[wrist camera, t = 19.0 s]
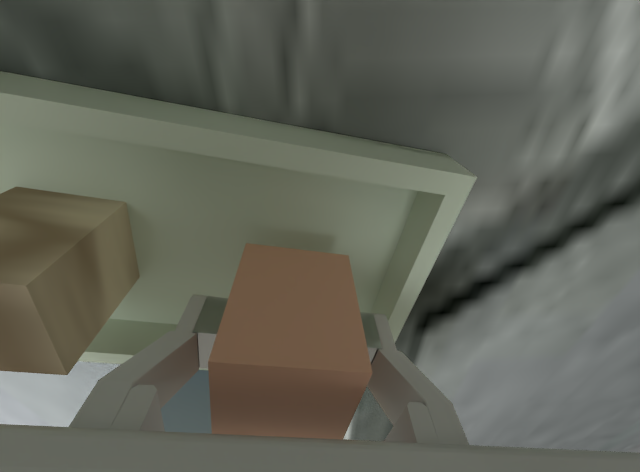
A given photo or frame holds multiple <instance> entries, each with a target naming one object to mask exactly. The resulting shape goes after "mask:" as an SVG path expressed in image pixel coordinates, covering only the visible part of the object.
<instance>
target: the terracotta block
mask: <svg viewBox="0 0 640 472" xmlns="http://www.w3.org/2000/svg"><path fill="white" fill-rule="evenodd" d="M208 372H209V391H210V410H211V429H212V434H231V435H254V436H277V437H299V438H322V439H343V438H344V436H345V433H346V431H347V429H348V427H349V424H350V422H351V420H352V418H353V416H354V413H355V411H356V409H357V407H358V404H359V402H360V400H361V398H362V396H363V393H364V391H365V389H366V387H367V384H368V382H369V380H370V378H371V376H372V368H371V363H370V358H369V353H368V348H367V343H366V338H365V334H364V329H363V324H362V319H361V314H360V309H359V304H358V299H357V294H356V289H355V285H354V280H353V275H352V270H351V265H350V260H349V255H342V254H334V253H325V252H317V251H308V250H300V249H292V248H283V247H275V246H266V245H258V244H249V243H246V245H245V248H244V251H243V254H242V257H241V260H240V263H239V267H238V270H237V273H236V276H235V279H234V282H233V285H232V288H231V292H230V295H229V298H228V301H227V304H226V307H225V310H224V313H223V317H222V320H221V323H220V326H219V329H218V332H217V335H216V338H215V342H214V345H213V348H212V351H211V354H210V357H209V360H208Z"/></svg>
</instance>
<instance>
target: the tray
mask: <svg viewBox="0 0 640 472" xmlns="http://www.w3.org/2000/svg"><path fill="white" fill-rule="evenodd" d="M476 179H477V177H476V176H475V175H474V174H472V173H471V172H470V171H468V170H467V169H465V168H464V167H463V166H461V165H460V164H459V163H457V162H456V161H455V160H453V159H452V158H451V157H449V156H448V155H446V154H443V153H438V152H432V151H427V150H422V149H416V148H411V147H406V146H400V145H395V144H390V143H384V142H379V141H373V140H368V139H363V138H357V137H352V136H347V135H341V134H336V133H330V132H325V131H320V130H314V129H309V128H304V127H298V126H293V125H288V124H282V123H277V122H271V121H266V120H261V119H255V118H250V117H245V116H239V115H234V114H228V113H223V112H218V111H212V110H207V109H202V108H196V107H191V106H186V105H180V104H175V103H169V102H164V101H159V100H153V99H148V98H143V97H137V96H132V95H126V94H121V93H116V92H110V91H105V90H100V89H94V88H89V87H84V86H78V85H73V84H67V83H62V82H57V81H51V80H46V79H41V78H35V77H30V76H24V75H19V74H14V73H8V72H3V71H0V194H1V193H3V192H5V191H7V190H10V189H12V188H14V187H23V188H30V189H37V190H45V191H52V192H59V193H66V194H73V195H80V196H87V197H94V198H101V199H108V200H115V201H122V202H126V203H127V209H128V214H129V220H130V225H131V231H132V236H133V242H134V247H135V253H136V258H137V264H138V269H139V275H140V277H139V279H138V280H137V281H136V283H135V284H134V285H133V287H132V288H131V289H130V291H129V292H128V294H127V295H126V296H125V298H124V299H123V300H122V302H121V303H120V304H119V306H118V307H117V308H116V310H115V311H114V312H113V314H112V315H111V316H110V318H109V319H108V321H107V322H106V323H105V325H104V326H103V327H102V329H101V330H100V331H99V333H98V334H97V335H96V337H95V338H94V339H93V341H92V342H91V344H90V345H89V346H88V348H87V349H86V350H85V352H84V353H83V354H82V356H81V357H80V358H79V360H78V361H83V362H97V363H111V364H123V363H124V362H126V361H127V360H129V359H130V358H131V357H133V356H134V355H136V354H137V353H139V352H140V351H142V350H143V349H144V348H146V347H147V346H149V345H150V344H152V343H153V342H155V341H156V340H157V339H159V338H160V337H162V336H163V335H165V334H166V333H168V332H169V331H175V329H176V327H177V325H178V323H179V321H180V319H181V317H182V314H183V312H184V310H185V308H186V306H187V304H188V302H189V300H190V298H191V297H192V295H193V294H195V295H203V296H213V297H221V298H229V295H230V292H231V288H232V285H233V282H234V279H235V276H236V273H237V270H238V267H239V263H240V260H241V257H242V254H243V251H244V248H245V245H246V243H249V244H258V245H266V246H275V247H283V248H292V249H300V250H308V251H317V252H325V253H334V254H342V255H349V260H350V265H351V270H352V275H353V280H354V285H355V289H356V294H357V299H358V304H359V309H360V312H366V313H376V314H385V315H386V317H387V320H388V323H389V326H390V329H391V333H392V336H393V339H394V342H396V340H397V338H398V336H399V334H400V332H401V330H402V328H403V326H404V324H405V322H406V320H407V318H408V315H409V313H410V311H411V309H412V307H413V305H414V303H415V301H416V299H417V297H418V295H419V293H420V291H421V289H422V287H423V285H424V283H425V281H426V279H427V277H428V275H429V273H430V271H431V269H432V267H433V265H434V263H435V261H436V259H437V257H438V255H439V253H440V251H441V249H442V247H443V245H444V243H445V241H446V239H447V237H448V235H449V233H450V231H451V229H452V227H453V225H454V223H455V221H456V219H457V217H458V215H459V213H460V211H461V209H462V207H463V205H464V203H465V201H466V199H467V197H468V195H469V193H470V191H471V189H472V187H473V185H474V183H475V181H476ZM199 370H208V369H203V368H199Z"/></svg>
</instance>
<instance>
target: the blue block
mask: <svg viewBox="0 0 640 472" xmlns="http://www.w3.org/2000/svg"><path fill="white" fill-rule="evenodd" d="M161 413H162V419H163V424H164V429H165V432H186V433H209V434H212V429H211V410H210V391H209V372H208V370H198V371H197V372H196V373H195V374H194V375H193V376H192V377H191V378H190V379H189V381H188V382H187V383H186V384H185V385H184V386H183V387H182V388H181V389H180V390H179V391H178V392H177V393H176V394H175V395H174V396H173V397H172V398H171V399H170V400H169V401H168V402H167V403H166V404H165V405H164V406H163V407H162V408H161Z"/></svg>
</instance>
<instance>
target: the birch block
mask: <svg viewBox="0 0 640 472" xmlns="http://www.w3.org/2000/svg"><path fill="white" fill-rule="evenodd" d="M139 277H140V275H139V269H138V264H137V258H136V253H135V247H134V242H133V236H132V231H131V225H130V220H129V214H128V209H127V203H126V202H122V201H115V200H108V199H101V198H94V197H87V196H80V195H73V194H66V193H59V192H52V191H45V190H37V189H30V188H23V187H14V188H12V189H10V190H7V191H5V192H3V193H1V194H0V371H13V372H28V373H44V374H59V375H68V373H69V372H70V371H71V369H72V368H73V366H74V365H75V364H76V362H77V361H78V360H79V358H80V357H81V356H82V354H83V353H84V352H85V350H86V349H87V348H88V346H89V345H90V344H91V342H92V341H93V339H94V338H95V337H96V335H97V334H98V333H99V331H100V330H101V329H102V327H103V326H104V325H105V323H106V322H107V321H108V319H109V318H110V316H111V315H112V314H113V312H114V311H115V310H116V308H117V307H118V306H119V304H120V303H121V302H122V300H123V299H124V298H125V296H126V295H127V294H128V292H129V291H130V289H131V288H132V287H133V285H134V284H135V283H136V281H137V280H138V279H139Z"/></svg>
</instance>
